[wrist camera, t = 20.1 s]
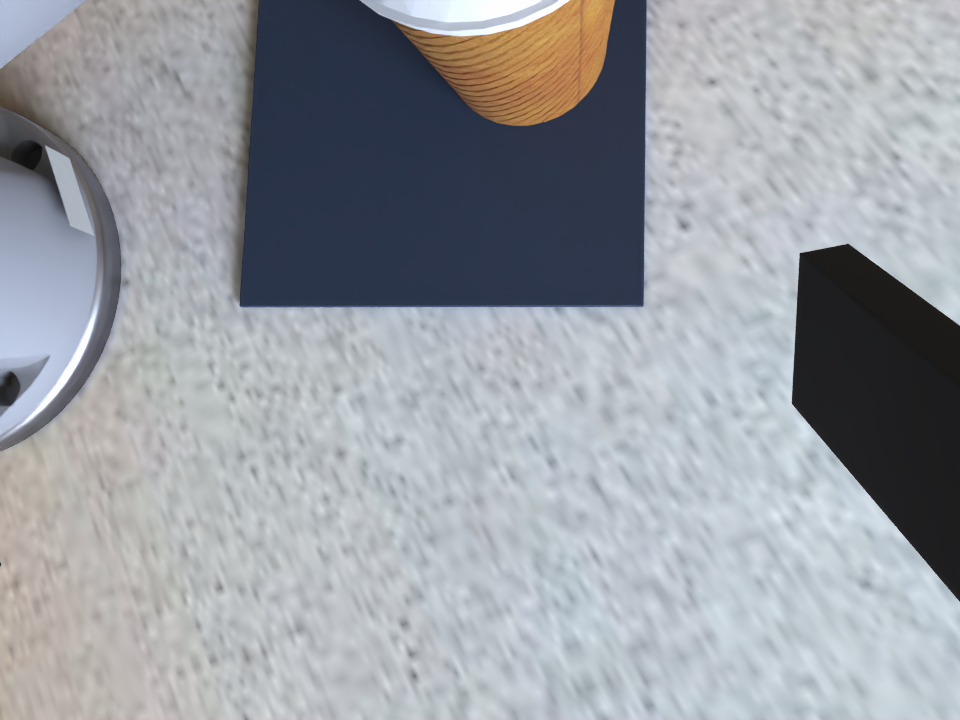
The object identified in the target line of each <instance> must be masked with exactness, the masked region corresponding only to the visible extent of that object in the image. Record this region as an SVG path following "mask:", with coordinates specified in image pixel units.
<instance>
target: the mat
mask: <svg viewBox="0 0 960 720" xmlns="http://www.w3.org/2000/svg"><path fill="white" fill-rule="evenodd" d="M645 99H646V0H615V2H614V7H613V13H612V19H611V24H610V30H609V36H608V41H607V47H606V55H605V59H604V63H603V67H602V70H601V72H600V74H599V76H598V78H597V81H596V83H595V84H594V85H593V87H592V88H591V90H590V91H589V92H588V94H587V95H586V96H585V97H584V98H583V99H582V100H581V101H580V102H579V103H578V104H577V105H576V106H575V107H573V108H572V109H570V110H569V111H567V112H566V113H564V114H563V115H561V116H559V117H557V118H554V119H552V120H549V121H546V122H542V123H538V124H534V125H529V126H512V125H506V124H500V123H497V122H494V121H492V120H489V119H487V118H484V117H483V116H481V115H480V114H478V113H477V112H475V111H473V110H472V109H471V108H470V107H469V106H468V105H467V104H466V103H465V102H464V101H463V100H462V99H461V97H460V96H459V95H458V94H457V93H456V91H455V90H454V89H453V88H452V87H451V86H450V85H449V84H448V83H447V82H446V80H445V79H444V78H443V77H442V76H441V75H440V73H439V72H438V71H437V70H436V69H435V68H434V67H433V66H432V65H431V64H430V63H429V61H428V60H427V59H426V58H425V57H424V56H423V55H422V53H421V52H420V51H419V50H418V49H417V48H416V47H415V46H414V45H413V44H412V43H411V41H410V40H409V39H408V38H407V37H406V36H405V35H404V33H403V32H402V31H401V30H400V29H399V28H398V27H397V26H396V24H395V23H394V22H393V21H392V20H391V19H389V18H386V17H384V16H381V15H379V14H378V13H376V12H375V11H373V10H372V9H371V8H369V7H368V6H367V5H365V4H364V3H362V2H361V1H360V0H259V11H258V26H257V42H256V57H255V73H254V89H253V104H252V120H251V136H250V151H249V167H248V183H247V198H246V214H245V230H244V245H243V261H242V277H241V292H240V306H241V307H643V299H644V199H645Z"/></svg>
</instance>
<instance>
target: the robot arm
mask: <svg viewBox="0 0 960 720" xmlns="http://www.w3.org/2000/svg"><path fill="white" fill-rule="evenodd" d="M84 1H86V0H0V69H1V68H2V67H3V66H4V65H6V64H7V63H8V62H9V61H11V60H12V59H13V58H14V57H16V56H17V55H18V54H19V53H21V52H22V51H23V50H24V49H26V48H27V47H28V46H29V45H31V44H32V43H33V42H34V41H36V40H37V39H38V38H39V37H41V36H42V35H43V34H44V33H46V32H47V31H48V30H49V29H51V28H52V27H53V26H54V25H56V24H57V23H58V22H59V21H61V20H62V19H63V18H64V17H66V16H67V15H68V14H69V13H71V12H72V11H73V10H74V9H76V8H77V7H78V6H79V5H81V4H82V3H83V2H84ZM120 281H121V255H120V244H119V237H118V231H117V227H116V223H115V219H114V215H113V212H112V209H111V207H110V204H109V201H108V199H107V196H106V194H105V192H104V190H103V188H102V186H101V184H100V183H99V181H98V179H97V178H96V176H95V174H94V173H93V171H92V170H91V169H90V167H89V166H88V165H87V164H86V162H85V161H84V160H83V159H82V158H81V157H80V156H79V154H78V153H77V152H76V151H75V150H74V149H73V148H71V147H70V146H69V145H68V144H67V143H65V142H64V141H63V140H62V139H60V138H59V137H57V136H56V135H54V134H53V133H51V132H49V131H48V130H46V129H44V128H42V127H41V126H39V125H37V124H35V123H34V122H32V121H30V120H28V119H26V118H25V117H23V116H21V115H19V114H17V113H15V112H12V111H10V110H8V109H5V108H2V107H0V451H2V450H5V449H7V448H9V447H11V446H13V445H15V444H17V443H20V442H21V441H23V440H25V439H26V438H28V437H29V436H31V435H33V434H34V433H36V432H37V431H38V430H40V429H41V428H42V427H44V426H45V425H46V424H48V423H49V422H50V421H51V420H52V419H53V418H54V417H55V416H57V415H58V414H59V413H60V412H61V411H62V410H63V409H64V408H65V407H66V405H67V404H68V403H69V402H70V401H71V400H72V399H73V398H74V396H75V395H76V394H77V393H78V391H79V390H80V389H81V387H82V386H83V385H84V383H85V382H86V380H87V378H88V377H89V375H90V374H91V372H92V371H93V369H94V367H95V365H96V363H97V361H98V359H99V357H100V355H101V353H102V351H103V349H104V346H105V344H106V342H107V339H108V337H109V334H110V331H111V327H112V324H113V321H114V318H115V313H116V308H117V304H118V298H119V290H120ZM792 404H793V406H794V407H795V408H796V409H797V410H798V412H799V413H800V414H801V415H802V416H803V417H804V419H805V420H806V421H807V422H808V423H809V424H810V426H811V427H812V428H813V429H814V430H815V432H816V433H817V434H818V435H819V436H820V437H821V439H822V440H823V441H824V442H825V443H826V445H827V446H828V447H829V448H830V449H831V450H832V452H833V453H834V454H835V455H836V456H837V457H838V459H839V460H840V461H841V462H842V463H843V465H844V466H845V467H846V468H847V469H848V470H849V472H850V473H851V474H852V475H853V476H854V478H855V479H856V480H857V481H858V482H859V483H860V485H861V486H862V487H863V488H864V489H865V490H866V492H867V493H868V494H869V495H870V496H871V498H872V499H873V500H874V501H875V502H876V503H877V505H878V506H879V507H880V508H881V509H882V511H883V512H884V513H885V514H886V515H887V516H888V518H889V519H890V520H891V521H892V522H893V523H894V525H895V526H896V527H897V528H898V529H899V531H900V532H901V533H902V534H903V535H904V536H905V538H906V539H907V540H908V541H909V542H910V544H911V545H912V546H913V547H914V548H915V549H916V551H917V552H918V553H919V554H920V555H921V556H922V558H923V559H924V560H925V561H926V562H927V564H928V565H929V566H930V567H931V568H932V569H933V571H934V572H935V573H936V574H937V575H938V577H939V578H940V579H941V580H942V581H943V582H944V584H945V585H946V586H947V587H948V588H949V589H950V591H951V592H952V593H953V594H954V595H955V597H956V598H957V599H958V600H959V601H960V326H959V325H958V324H956V323H955V322H954V321H952V320H951V319H950V318H948V317H947V316H946V315H944V314H943V313H942V312H940V311H939V310H937V309H936V308H935V307H933V306H932V305H931V304H929V303H928V302H927V301H925V300H924V299H922V298H921V297H920V296H918V295H917V294H916V293H914V292H913V291H912V290H910V289H909V288H908V287H906V286H905V285H903V284H902V283H901V282H899V281H898V280H897V279H895V278H894V277H893V276H891V275H890V274H889V273H887V272H886V271H884V270H883V269H882V268H880V267H879V266H878V265H876V264H875V263H874V262H872V261H871V260H869V259H868V258H867V257H865V256H864V255H863V254H861V253H860V252H859V251H857V250H856V249H855V248H853V247H852V246H850V245H849V244H846V245H840V246H835V247H830V248H825V249H820V250H815V251H810V252H804V253H800V260H799V279H798V297H797V316H796V335H795V353H794V372H793V391H792ZM0 566H1V563H0Z"/></svg>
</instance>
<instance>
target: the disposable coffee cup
mask: <svg viewBox="0 0 960 720" xmlns="http://www.w3.org/2000/svg"><path fill="white" fill-rule="evenodd" d="M360 1H361V2H362V3H364V4H365V5H367V6H368V7H369V8H371V9H372V10H373V11H375V12H376V13H378V14H379V15H381V16H384V17H386V18H389V19H391V20H392V21H393V22H394V23H395V24H396V26H397V27H398V28H399V29H400V30H401V31H402V32H403V33H404V35H405V36H406V37H407V38H408V39H409V40H410V41H411V43H412V44H413V45H414V46H415V47H416V48H417V49H418V50H419V51H420V52H421V53H422V55H423V56H424V57H425V58H426V59H427V60H428V61H429V63H430V64H431V65H432V66H433V67H434V68H435V69H436V70H437V71H438V72H439V73H440V75H441V76H442V77H443V78H444V79H445V80H446V82H447V83H448V84H449V85H450V86H451V87H452V88H453V89H454V90H455V91H456V93H457V94H458V95H459V96H460V97H461V99H462V100H463V101H464V102H465V103H466V104H467V105H468V106H469V107H470V108H471V109H472V110H473V111H475V112H477V113H478V114H480V115H481V116H483V117H484V118H487V119H489V120H492V121H494V122H497V123H500V124H506V125H512V126H529V125H534V124H538V123H542V122H546V121H549V120H552V119H554V118H557V117H559V116H561V115H563V114H564V113H566V112H567V111H569V110H570V109H572V108H573V107H575V106H576V105H577V104H578V103H579V102H580V101H581V100H582V99H583V98H584V97H585V96H586V95H587V94H588V92H589V91H590V90H591V88H592V87H593V85H594V84H595V83H596V81H597V78H598V76H599V74H600V72H601V70H602V67H603V63H604V59H605V55H606V47H607V41H608V36H609V30H610V24H611V19H612V13H613V7H614V2H615V0H360Z"/></svg>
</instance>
